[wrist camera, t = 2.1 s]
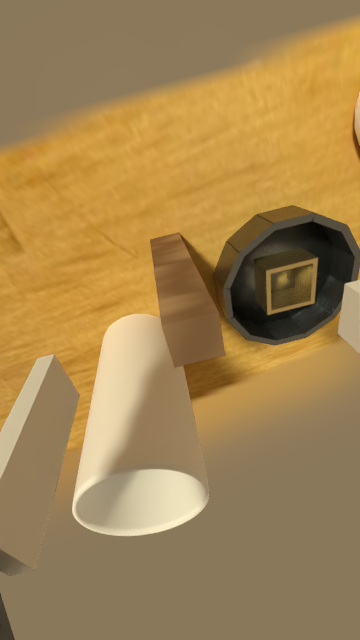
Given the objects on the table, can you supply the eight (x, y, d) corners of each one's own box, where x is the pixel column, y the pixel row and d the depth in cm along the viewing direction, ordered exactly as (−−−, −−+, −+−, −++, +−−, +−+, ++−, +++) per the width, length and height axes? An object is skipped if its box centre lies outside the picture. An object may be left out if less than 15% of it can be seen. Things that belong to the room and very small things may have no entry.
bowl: (222, 336, 30) (232, 356, 27) (206, 226, 24) (216, 237, 21) (328, 309, 30) (349, 326, 27) (342, 192, 24) (371, 198, 21)
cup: (184, 363, 32) (218, 517, 18) (117, 380, 32) (103, 546, 18) (168, 304, 27) (196, 451, 14) (90, 325, 27) (44, 491, 14)
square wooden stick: (157, 266, 25) (174, 367, 13) (150, 239, 24) (161, 325, 12) (184, 260, 25) (225, 355, 13) (178, 232, 24) (218, 311, 12)
